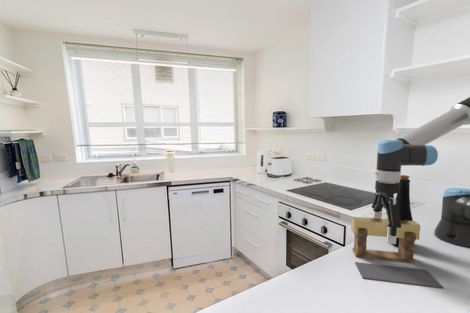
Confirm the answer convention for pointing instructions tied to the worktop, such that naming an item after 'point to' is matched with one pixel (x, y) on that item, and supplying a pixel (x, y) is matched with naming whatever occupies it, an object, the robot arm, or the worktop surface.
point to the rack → (402, 255)
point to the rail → (383, 227)
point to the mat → (397, 274)
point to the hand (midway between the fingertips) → (383, 234)
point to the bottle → (404, 201)
